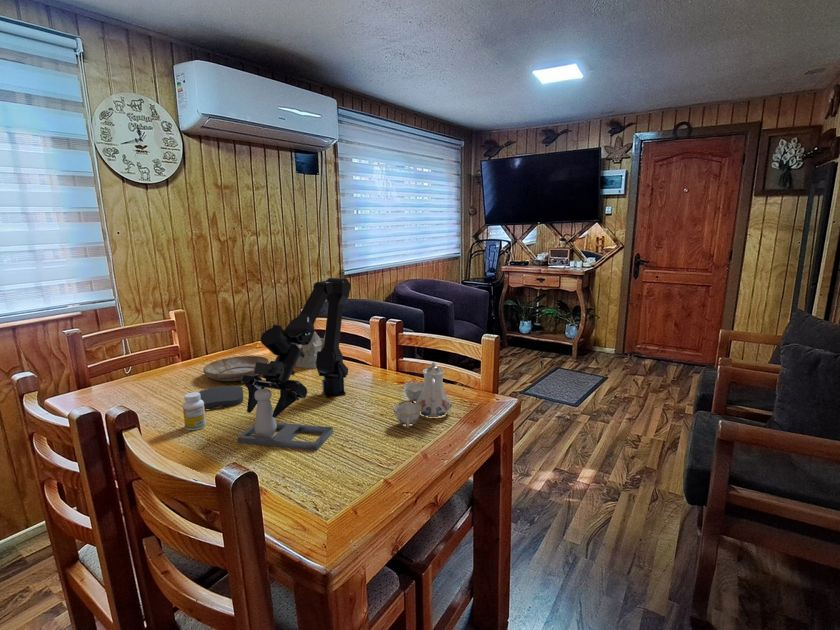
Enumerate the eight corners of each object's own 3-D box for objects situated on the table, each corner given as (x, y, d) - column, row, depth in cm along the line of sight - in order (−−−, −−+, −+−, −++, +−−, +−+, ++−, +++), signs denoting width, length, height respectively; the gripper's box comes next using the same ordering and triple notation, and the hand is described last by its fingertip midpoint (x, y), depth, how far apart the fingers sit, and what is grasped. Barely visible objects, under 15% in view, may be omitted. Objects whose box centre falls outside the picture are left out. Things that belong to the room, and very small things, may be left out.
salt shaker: (270, 441, 119) (266, 394, 116) (250, 439, 120) (246, 393, 118) (281, 431, 125) (278, 387, 122) (262, 429, 126) (258, 385, 123)
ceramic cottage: (342, 361, 188) (338, 326, 186) (309, 372, 177) (304, 335, 174) (321, 357, 199) (317, 324, 196) (288, 367, 187) (283, 332, 185)
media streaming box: (197, 396, 152) (196, 388, 151) (243, 391, 157) (243, 382, 156) (192, 413, 138) (191, 404, 138) (243, 406, 143) (242, 397, 143)
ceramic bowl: (247, 363, 188) (246, 351, 187) (282, 373, 174) (281, 361, 173) (192, 378, 170) (190, 366, 169) (227, 391, 156) (226, 377, 155)
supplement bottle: (190, 423, 130) (186, 391, 129) (209, 422, 131) (205, 390, 129) (182, 431, 125) (178, 398, 123) (202, 430, 126) (198, 397, 124)
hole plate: (237, 442, 118) (237, 437, 118) (259, 425, 128) (259, 420, 128) (316, 450, 114) (316, 445, 113) (332, 432, 124) (332, 427, 123)
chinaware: (401, 400, 151) (395, 352, 148) (451, 395, 150) (446, 347, 147) (393, 439, 123) (386, 381, 120) (454, 433, 122) (448, 375, 119)
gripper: (242, 346, 125) (215, 397, 117) (298, 352, 118) (273, 407, 110) (264, 365, 133) (240, 414, 126) (317, 372, 127) (295, 424, 119)
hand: (260, 414), depth 120 cm, fingers open, 8 cm apart
